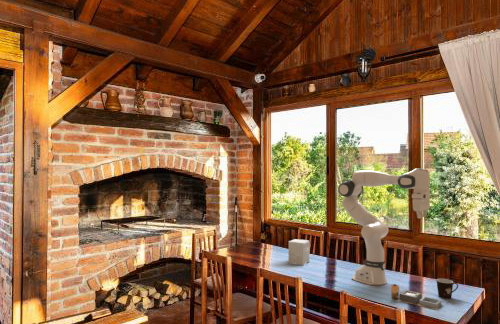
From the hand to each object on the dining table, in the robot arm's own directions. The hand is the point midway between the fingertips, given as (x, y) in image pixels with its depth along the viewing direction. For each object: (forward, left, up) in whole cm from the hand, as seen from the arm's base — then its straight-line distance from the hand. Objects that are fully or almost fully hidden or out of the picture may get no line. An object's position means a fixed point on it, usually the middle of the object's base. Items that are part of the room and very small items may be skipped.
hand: (421, 217), depth 217 cm
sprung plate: (0, -20, -42) cm, 47 cm away
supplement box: (-96, +8, -46) cm, 107 cm away
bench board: (+5, -20, -45) cm, 50 cm away
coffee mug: (+14, 0, -46) cm, 48 cm away
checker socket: (0, -20, -45) cm, 49 cm away
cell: (-8, -23, -45) cm, 51 cm away
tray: (+10, -20, -45) cm, 50 cm away
